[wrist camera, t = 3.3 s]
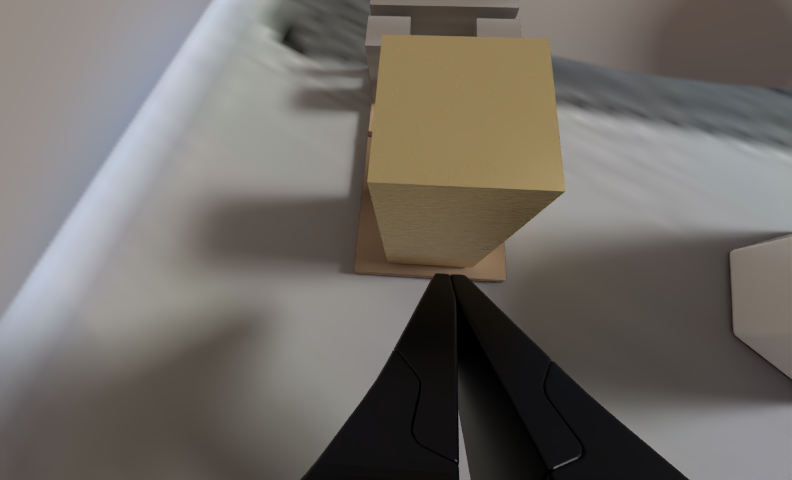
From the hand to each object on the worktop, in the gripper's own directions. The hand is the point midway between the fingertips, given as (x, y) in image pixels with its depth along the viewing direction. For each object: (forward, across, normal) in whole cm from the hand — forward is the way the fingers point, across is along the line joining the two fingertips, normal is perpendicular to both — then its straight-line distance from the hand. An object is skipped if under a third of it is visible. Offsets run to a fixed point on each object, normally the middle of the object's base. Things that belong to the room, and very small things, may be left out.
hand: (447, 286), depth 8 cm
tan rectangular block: (+9, 0, 0) cm, 9 cm away
